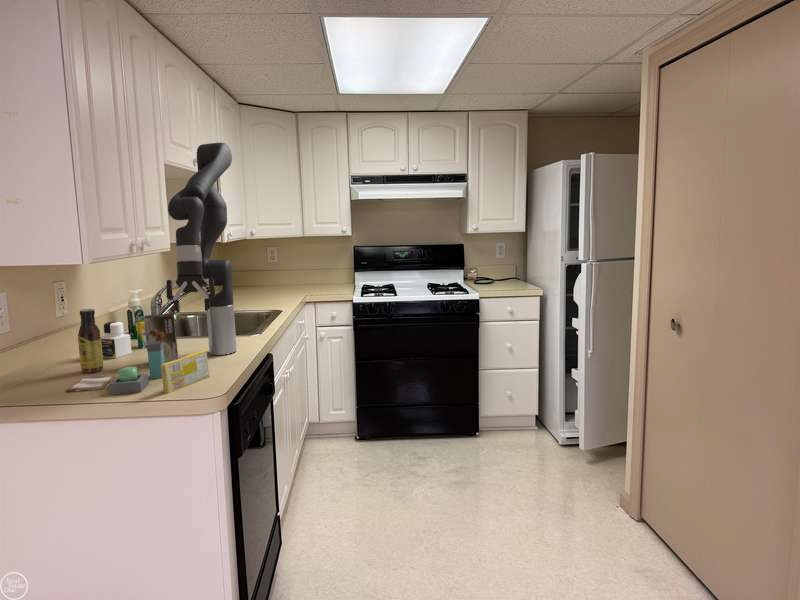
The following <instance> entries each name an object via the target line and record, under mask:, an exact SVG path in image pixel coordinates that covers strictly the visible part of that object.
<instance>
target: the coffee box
mask: <svg viewBox="0 0 800 600" xmlns="http://www.w3.org/2000/svg"><path fill="white" fill-rule="evenodd" d="M144 316H145V317H144V318H143V320H144V323H145V332H146V342H147V344H148V343H150V342H162V341H163V345H164V348H163V349H164V361H165V363H167V362H170V361H173V360H176V359H179V354H178V353H179V350H178V342H177V333H176V323H175V314H174V313H163V314H161V313H160V314H149V315H144ZM148 362H149V360H148Z"/></svg>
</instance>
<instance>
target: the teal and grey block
mask: <svg viewBox="0 0 800 600" xmlns="http://www.w3.org/2000/svg"><path fill="white" fill-rule="evenodd" d="M163 348H164V345H163V341H162V342H150V343H148V344H147V348H146V352H147V359H148V360H149V361H148V368H149V369H148V371H149V379H151V378H153V379H162V372H161V364H164V363H165V361H164V349H163ZM151 380H152V379H151Z"/></svg>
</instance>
